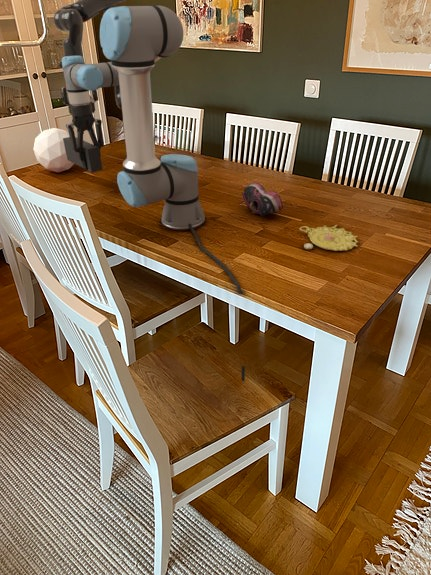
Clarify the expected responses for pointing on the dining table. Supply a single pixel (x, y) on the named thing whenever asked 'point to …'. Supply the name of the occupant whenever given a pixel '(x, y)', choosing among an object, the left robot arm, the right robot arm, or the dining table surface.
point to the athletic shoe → (261, 200)
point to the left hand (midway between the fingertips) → (82, 113)
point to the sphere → (52, 150)
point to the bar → (90, 153)
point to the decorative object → (330, 238)
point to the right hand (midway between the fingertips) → (91, 167)
